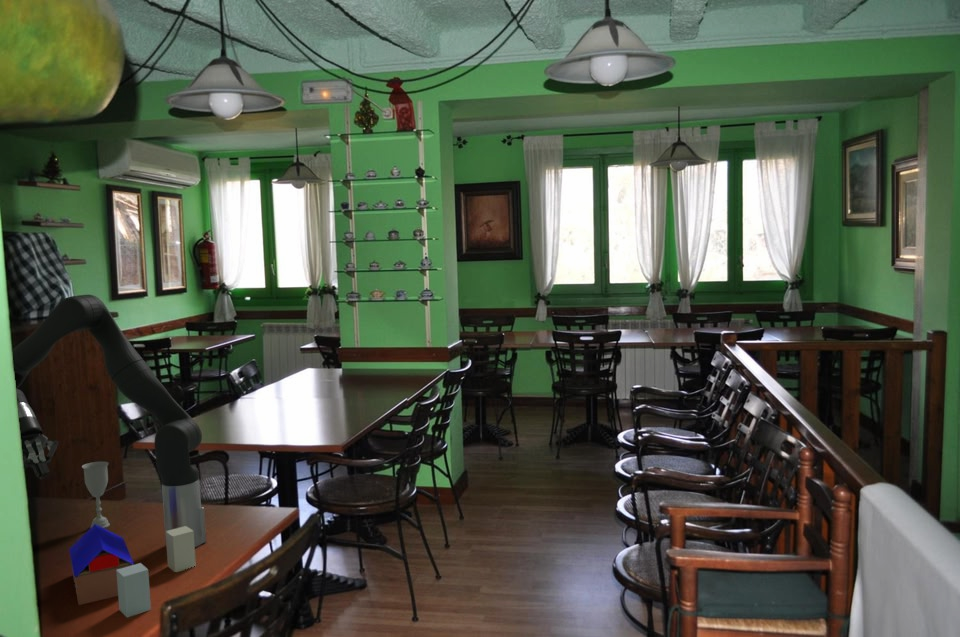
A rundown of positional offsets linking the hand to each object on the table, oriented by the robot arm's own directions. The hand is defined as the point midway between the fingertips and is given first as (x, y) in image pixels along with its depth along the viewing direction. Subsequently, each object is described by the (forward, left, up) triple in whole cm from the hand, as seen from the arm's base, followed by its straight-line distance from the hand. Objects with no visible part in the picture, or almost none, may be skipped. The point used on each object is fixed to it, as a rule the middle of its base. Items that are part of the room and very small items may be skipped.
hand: (44, 476), depth 192 cm
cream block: (-22, +31, -21) cm, 44 cm away
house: (-5, +27, -22) cm, 35 cm away
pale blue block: (-6, +47, -21) cm, 52 cm away
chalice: (-16, -16, -22) cm, 32 cm away
